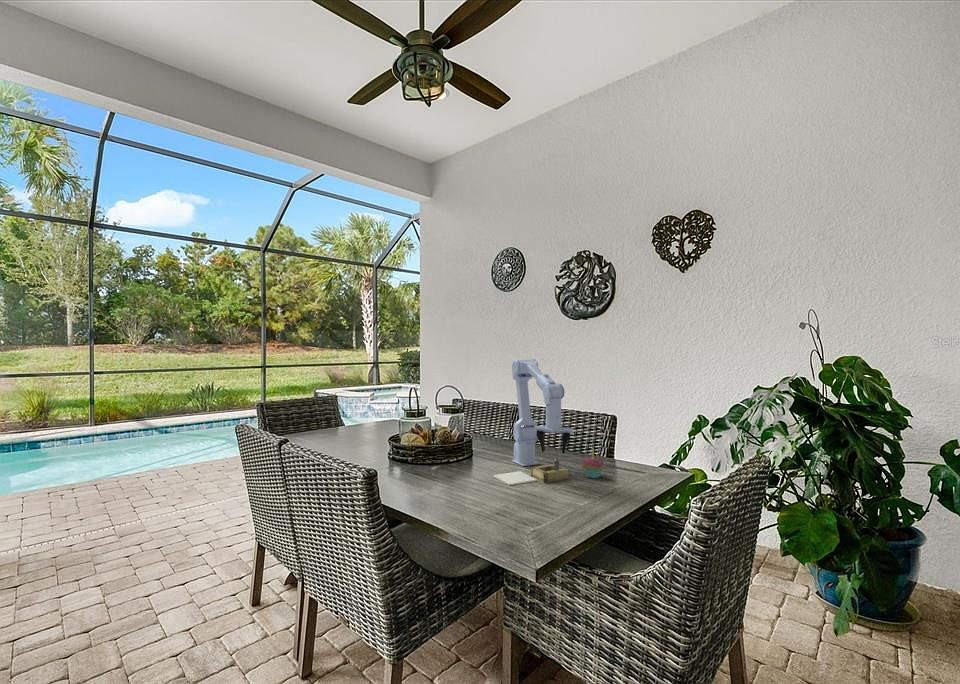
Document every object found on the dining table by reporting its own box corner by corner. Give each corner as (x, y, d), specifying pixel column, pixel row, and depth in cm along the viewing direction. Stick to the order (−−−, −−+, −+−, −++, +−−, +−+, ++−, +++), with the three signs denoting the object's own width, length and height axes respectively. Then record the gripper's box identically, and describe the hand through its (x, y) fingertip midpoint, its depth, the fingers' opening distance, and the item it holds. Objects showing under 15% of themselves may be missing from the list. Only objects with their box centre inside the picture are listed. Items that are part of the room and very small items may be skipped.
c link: (530, 476, 176) (530, 467, 176) (554, 472, 181) (554, 463, 181) (543, 482, 168) (543, 473, 168) (568, 478, 173) (568, 469, 173)
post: (552, 475, 176) (552, 458, 176) (557, 475, 177) (557, 458, 177) (555, 477, 174) (555, 460, 174) (560, 476, 175) (560, 459, 175)
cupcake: (605, 480, 171) (605, 447, 171) (581, 479, 172) (581, 447, 172) (602, 473, 180) (602, 442, 180) (580, 472, 181) (580, 442, 181)
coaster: (493, 476, 175) (493, 475, 175) (519, 472, 181) (519, 471, 181) (508, 485, 165) (508, 484, 165) (536, 481, 170) (536, 479, 170)
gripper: (532, 416, 171) (532, 452, 172) (571, 419, 167) (571, 456, 167) (536, 413, 178) (536, 448, 178) (573, 415, 173) (573, 451, 174)
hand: (553, 451), depth 173 cm, fingers open, 7 cm apart
